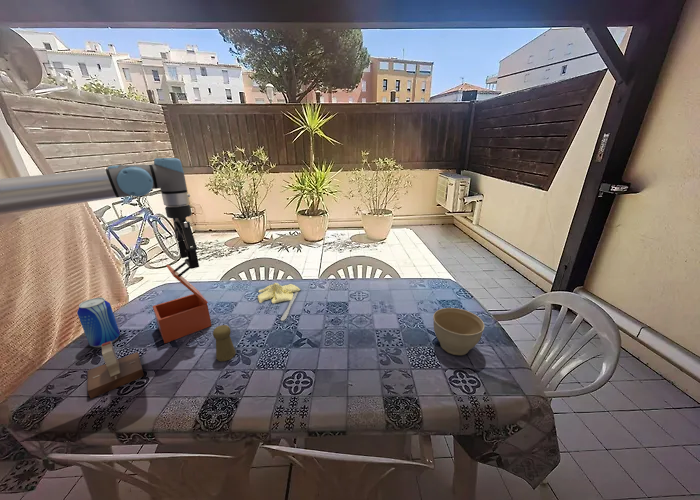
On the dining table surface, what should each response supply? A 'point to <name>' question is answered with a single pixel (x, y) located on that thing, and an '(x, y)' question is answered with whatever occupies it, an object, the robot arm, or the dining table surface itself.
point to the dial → (110, 358)
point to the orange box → (181, 317)
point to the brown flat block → (103, 382)
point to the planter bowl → (457, 330)
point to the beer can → (98, 321)
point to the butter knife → (288, 307)
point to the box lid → (183, 280)
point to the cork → (223, 343)
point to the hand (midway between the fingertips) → (189, 262)
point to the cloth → (277, 293)
